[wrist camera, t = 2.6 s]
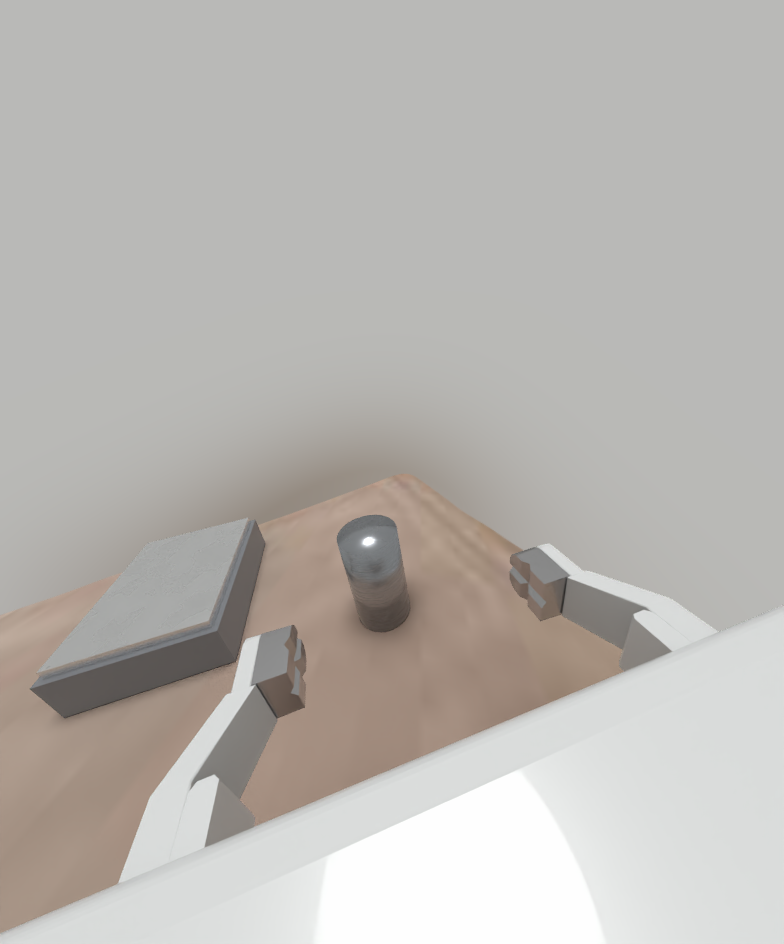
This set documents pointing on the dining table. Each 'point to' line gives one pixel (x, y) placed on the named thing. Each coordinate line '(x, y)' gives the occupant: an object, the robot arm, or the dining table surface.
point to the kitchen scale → (159, 620)
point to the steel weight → (375, 571)
